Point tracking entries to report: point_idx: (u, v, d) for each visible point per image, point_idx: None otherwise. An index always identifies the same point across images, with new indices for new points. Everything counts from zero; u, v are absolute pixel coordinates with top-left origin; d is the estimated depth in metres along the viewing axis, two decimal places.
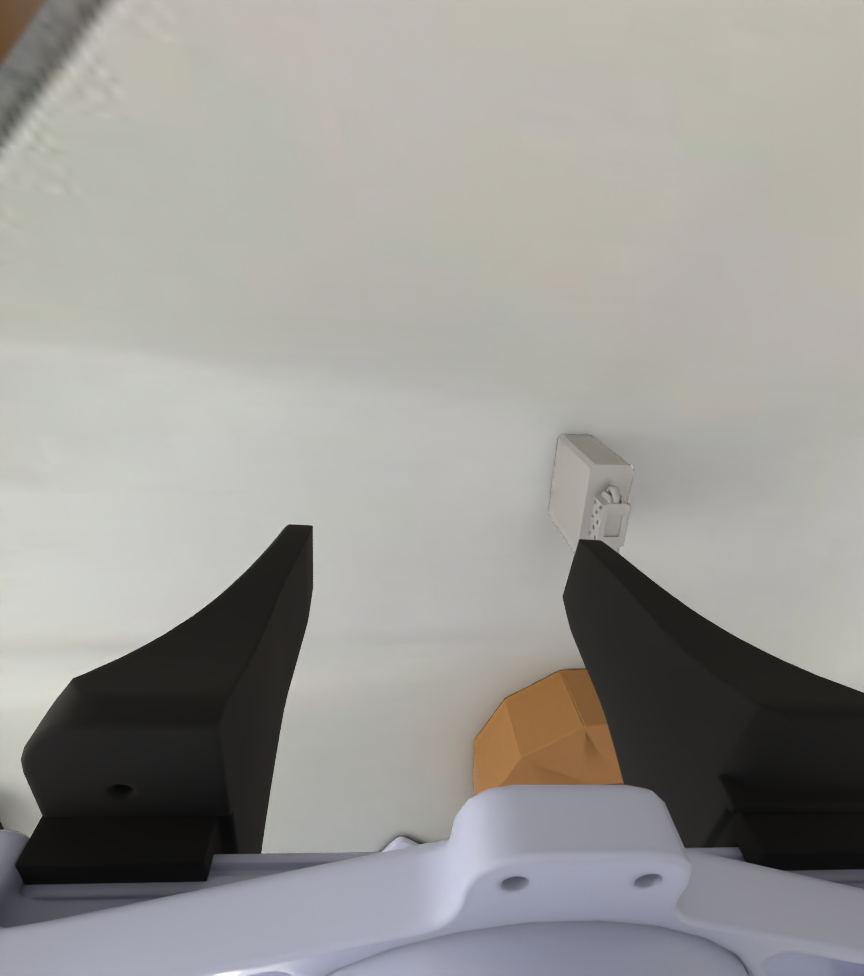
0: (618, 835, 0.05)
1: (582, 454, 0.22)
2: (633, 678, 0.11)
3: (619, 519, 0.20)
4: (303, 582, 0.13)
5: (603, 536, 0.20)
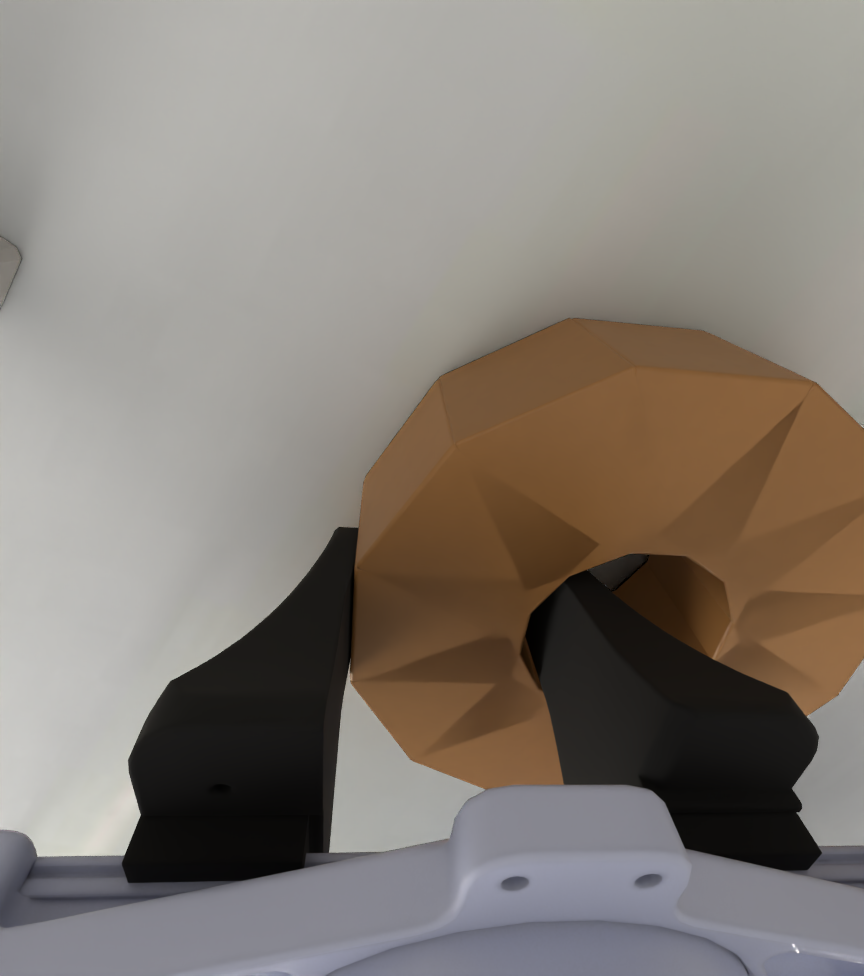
0: (618, 835, 0.05)
1: None
2: (572, 676, 0.11)
3: None
4: None
5: None
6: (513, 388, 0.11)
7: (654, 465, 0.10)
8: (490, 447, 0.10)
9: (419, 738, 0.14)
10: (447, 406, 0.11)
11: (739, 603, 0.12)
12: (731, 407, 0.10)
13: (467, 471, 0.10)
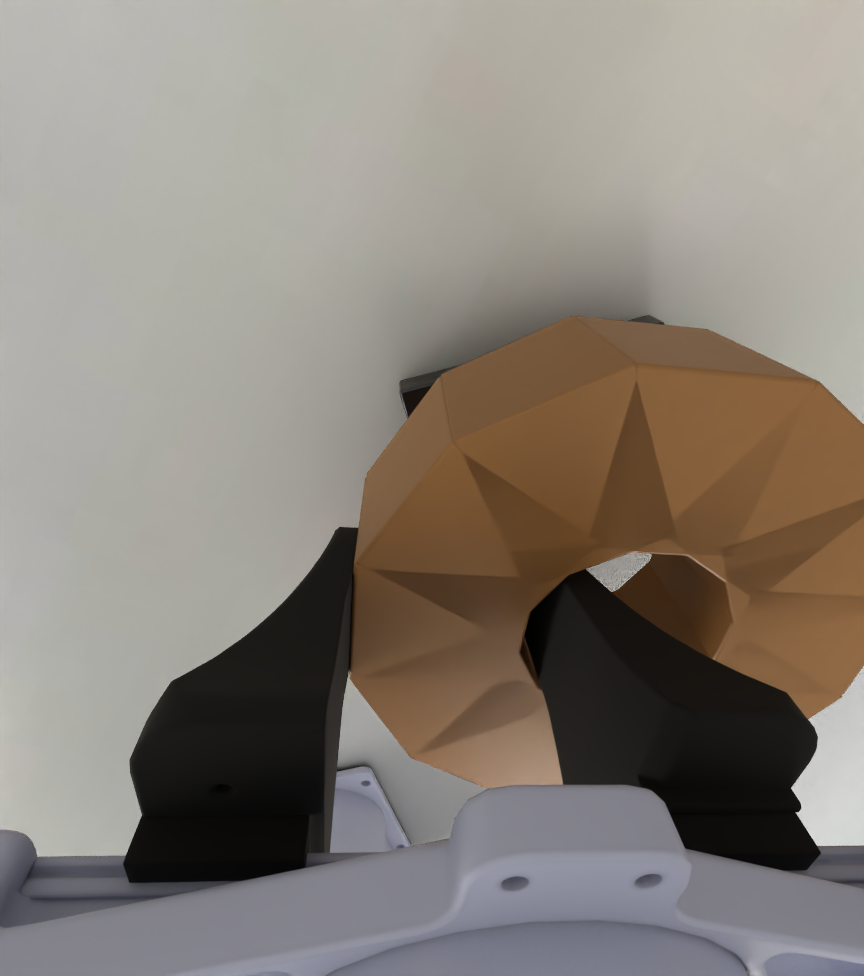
0: (618, 835, 0.05)
1: None
2: (572, 676, 0.11)
3: None
4: None
5: None
6: (513, 386, 0.11)
7: (654, 464, 0.10)
8: (489, 445, 0.10)
9: (418, 735, 0.14)
10: (448, 403, 0.11)
11: (741, 604, 0.12)
12: (732, 406, 0.10)
13: (466, 468, 0.10)
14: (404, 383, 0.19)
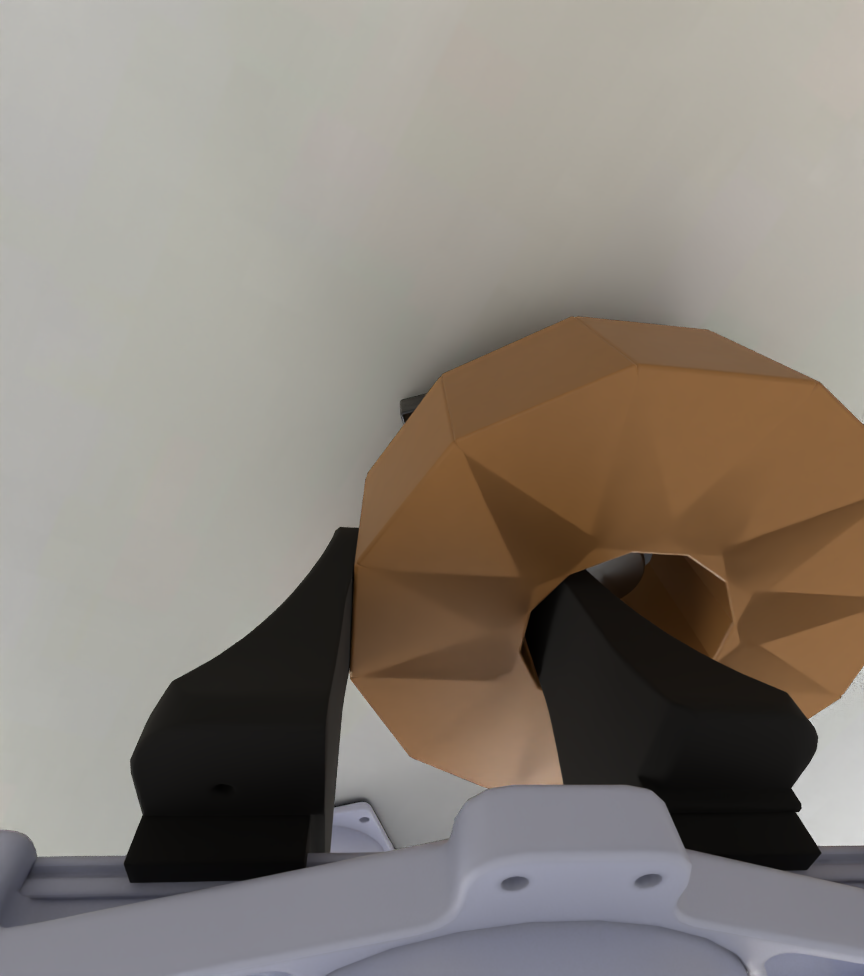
0: (618, 835, 0.05)
1: None
2: (572, 676, 0.11)
3: None
4: None
5: None
6: (514, 386, 0.11)
7: (655, 464, 0.10)
8: (491, 445, 0.10)
9: (418, 735, 0.14)
10: (449, 403, 0.11)
11: (740, 603, 0.12)
12: (733, 406, 0.10)
13: (467, 469, 0.10)
14: (405, 403, 0.17)
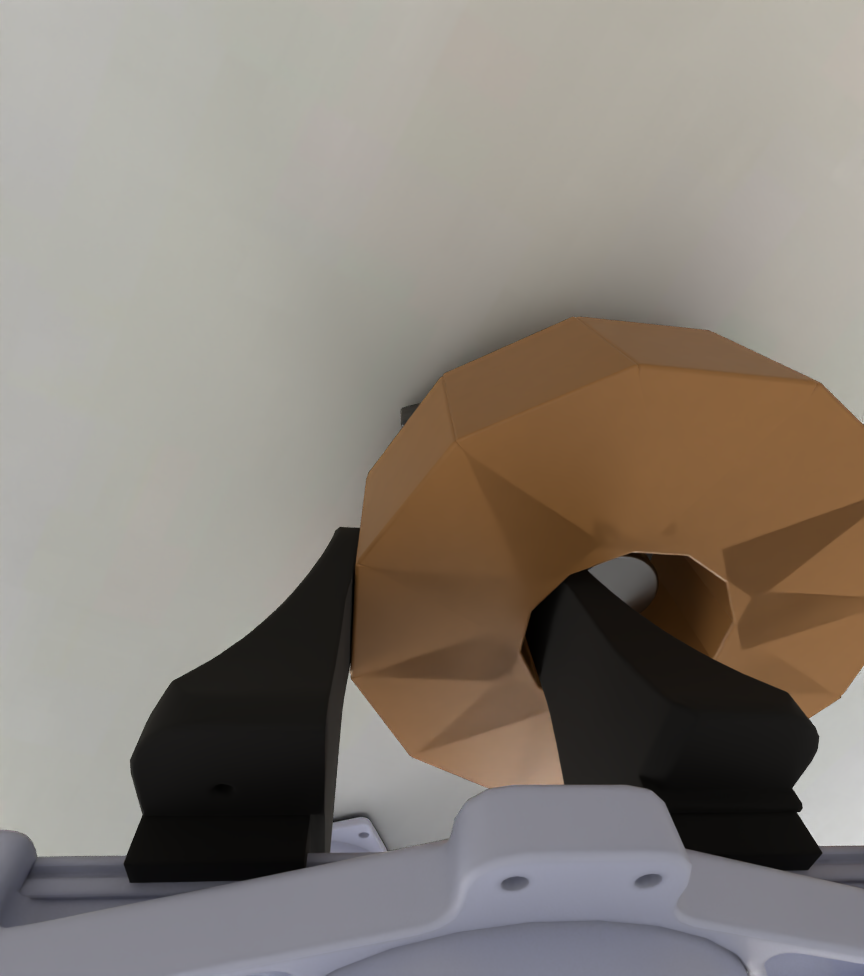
0: (618, 835, 0.05)
1: None
2: (572, 676, 0.11)
3: None
4: None
5: None
6: (515, 386, 0.11)
7: (656, 464, 0.10)
8: (491, 444, 0.10)
9: (419, 735, 0.14)
10: (450, 403, 0.11)
11: (741, 604, 0.12)
12: (734, 406, 0.10)
13: (469, 468, 0.10)
14: (406, 411, 0.16)
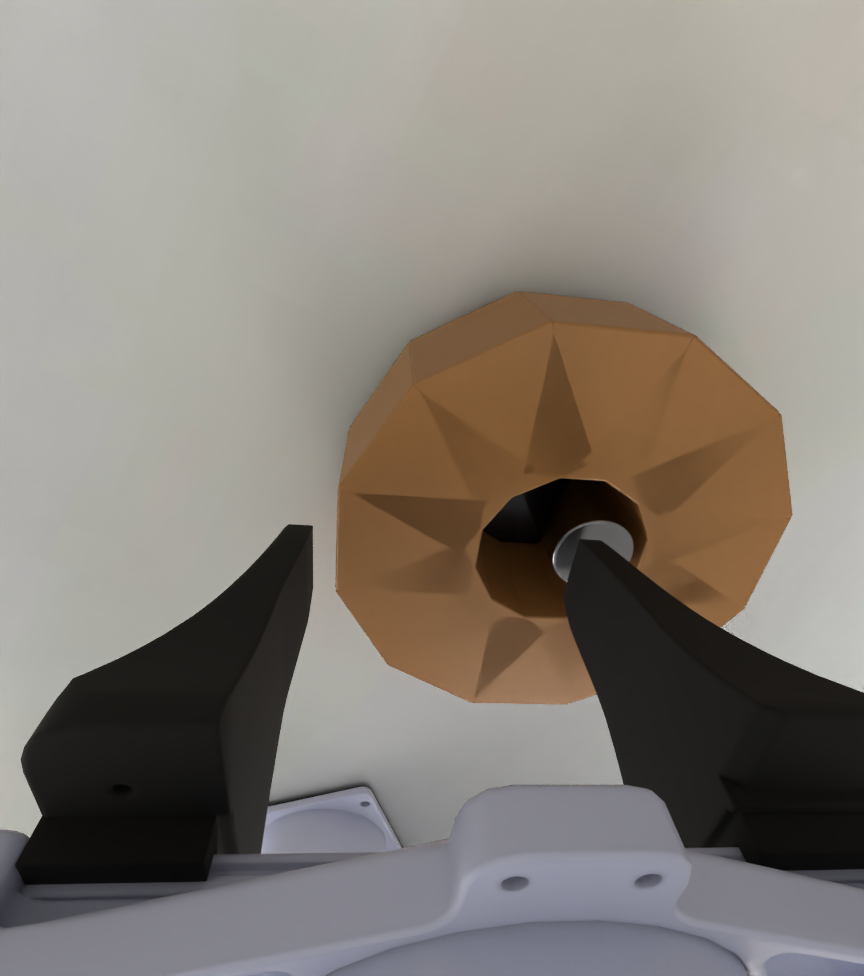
0: (618, 835, 0.05)
1: None
2: (632, 678, 0.11)
3: None
4: (303, 582, 0.13)
5: None
6: (463, 343, 0.13)
7: (573, 402, 0.13)
8: (443, 386, 0.13)
9: (394, 644, 0.17)
10: (413, 360, 0.14)
11: (652, 523, 0.15)
12: (630, 355, 0.12)
13: (425, 407, 0.13)
14: None
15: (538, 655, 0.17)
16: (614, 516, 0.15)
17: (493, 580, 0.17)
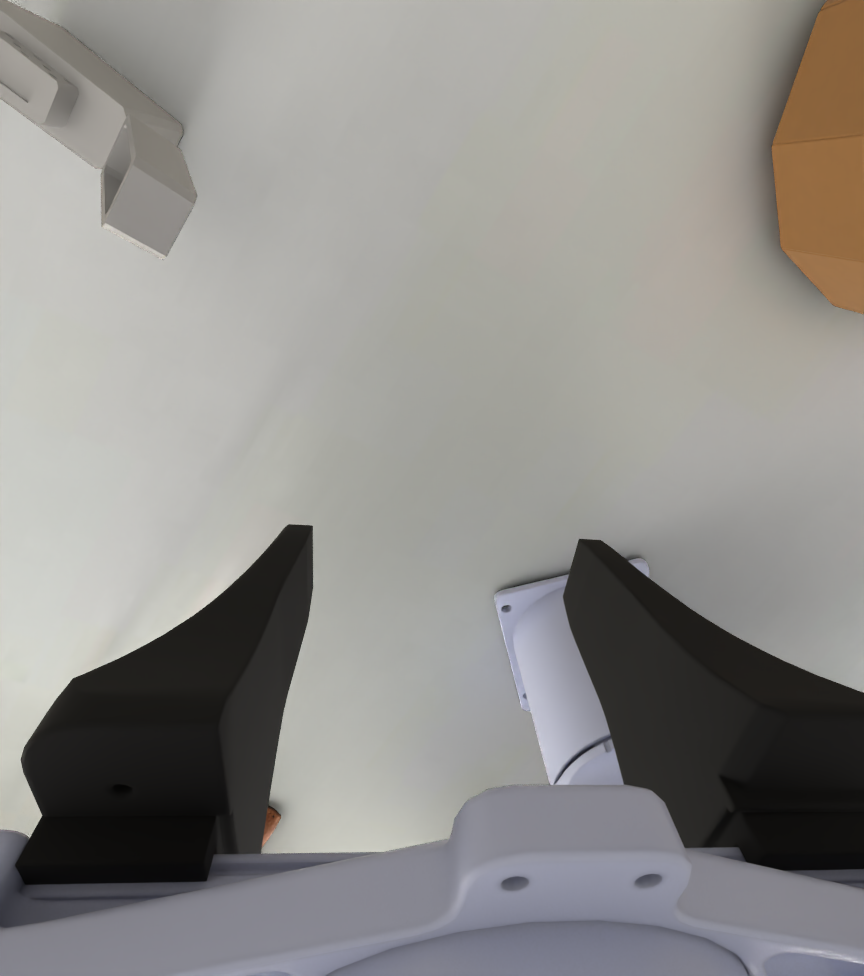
0: (618, 835, 0.05)
1: None
2: (633, 678, 0.11)
3: (7, 58, 0.12)
4: (303, 582, 0.13)
5: (28, 103, 0.13)
6: None
7: None
8: None
9: None
10: None
11: None
12: None
13: None
14: None
15: None
16: None
17: None
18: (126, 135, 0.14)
